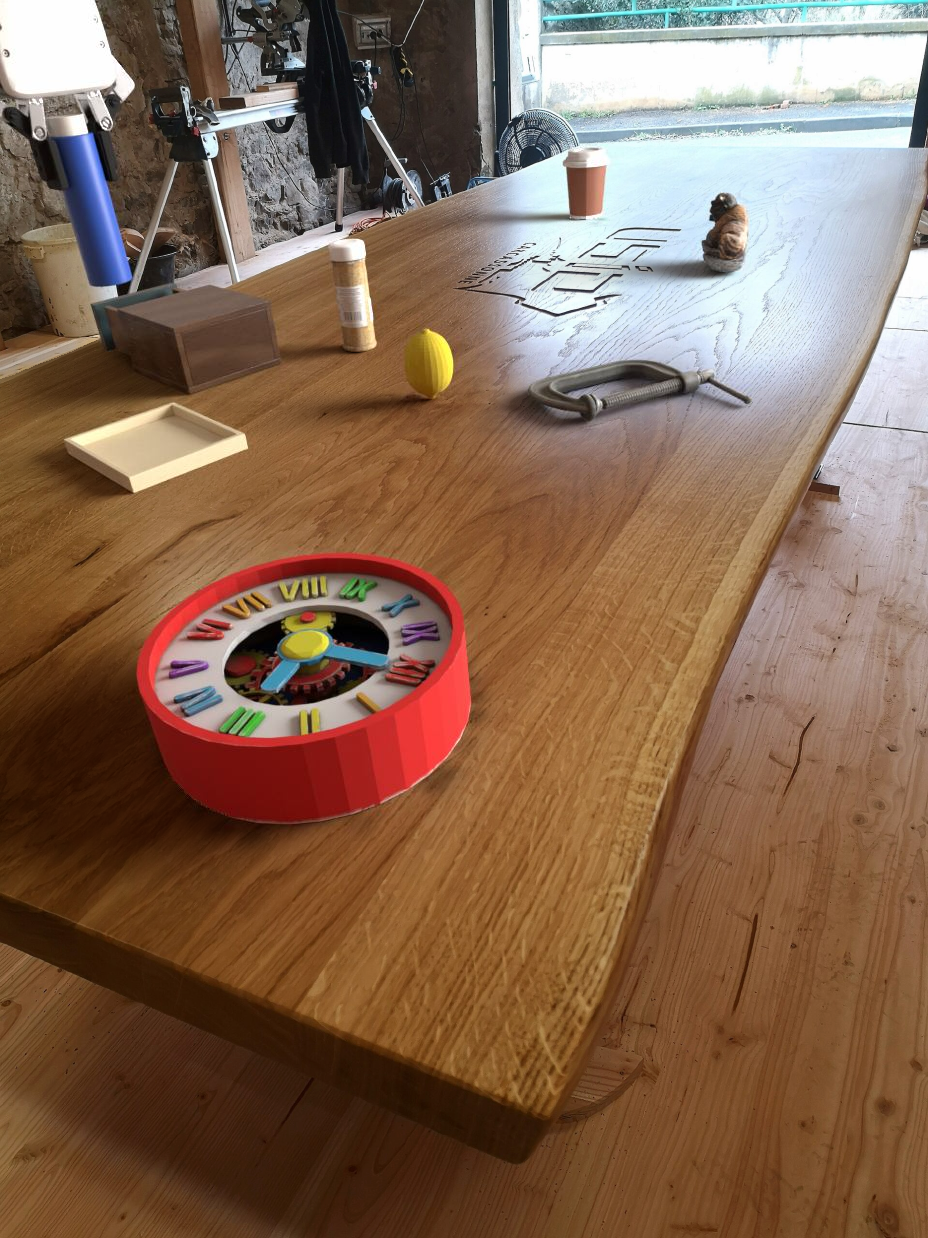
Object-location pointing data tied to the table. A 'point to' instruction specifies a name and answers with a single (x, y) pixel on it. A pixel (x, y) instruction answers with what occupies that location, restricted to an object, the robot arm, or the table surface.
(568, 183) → the coffee cup
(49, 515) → the table surface
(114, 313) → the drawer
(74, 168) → the water bottle
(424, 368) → the lemon
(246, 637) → the toy clock
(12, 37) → the robot arm
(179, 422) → the tray
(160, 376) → the cabinet
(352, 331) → the sprinkles bottle
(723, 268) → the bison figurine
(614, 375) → the c clamp
